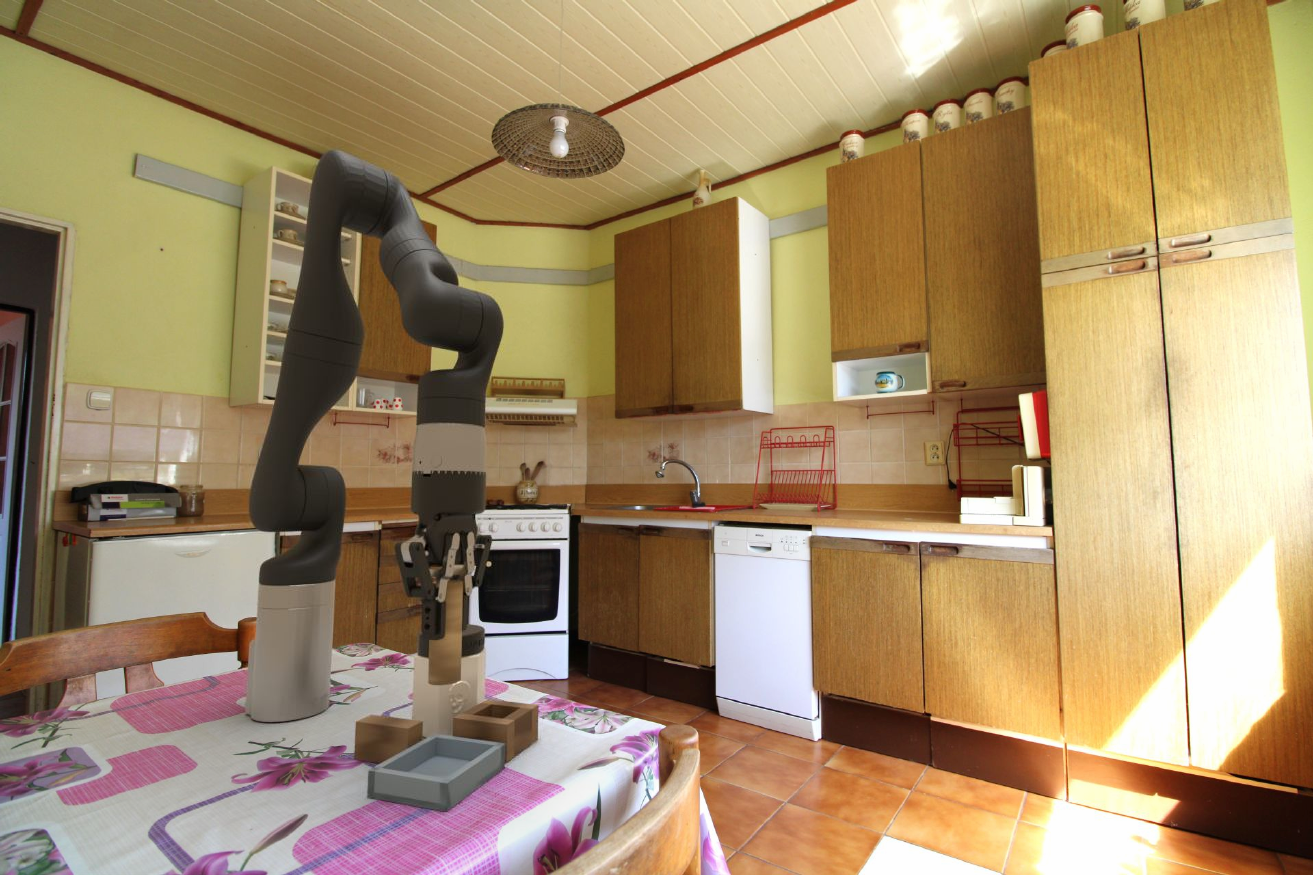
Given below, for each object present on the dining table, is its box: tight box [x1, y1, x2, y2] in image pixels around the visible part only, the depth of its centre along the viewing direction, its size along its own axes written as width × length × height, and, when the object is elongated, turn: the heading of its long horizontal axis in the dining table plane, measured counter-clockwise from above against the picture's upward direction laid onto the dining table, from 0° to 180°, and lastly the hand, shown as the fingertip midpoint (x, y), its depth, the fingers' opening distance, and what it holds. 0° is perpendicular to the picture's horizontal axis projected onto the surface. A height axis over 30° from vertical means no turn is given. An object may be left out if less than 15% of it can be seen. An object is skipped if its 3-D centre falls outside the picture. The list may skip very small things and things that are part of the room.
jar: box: [411, 623, 487, 739], centre depth 80 cm, size 9×8×12 cm
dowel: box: [428, 579, 463, 685], centre depth 66 cm, size 3×3×10 cm
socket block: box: [453, 698, 540, 764], centre depth 73 cm, size 7×7×4 cm
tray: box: [366, 734, 506, 813], centre depth 64 cm, size 9×10×2 cm
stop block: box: [353, 714, 423, 764], centre depth 70 cm, size 7×2×4 cm, turn 72°
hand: (444, 634), depth 66 cm, fingers closed on dowel, 3 cm apart
